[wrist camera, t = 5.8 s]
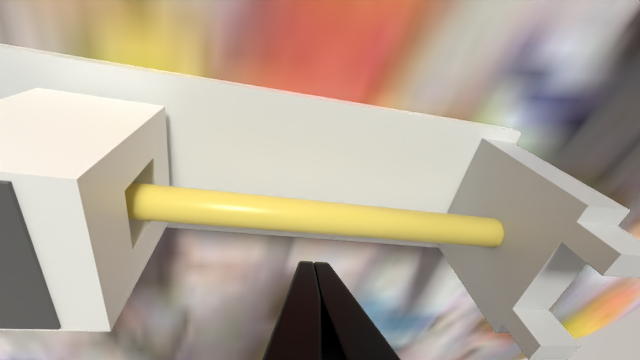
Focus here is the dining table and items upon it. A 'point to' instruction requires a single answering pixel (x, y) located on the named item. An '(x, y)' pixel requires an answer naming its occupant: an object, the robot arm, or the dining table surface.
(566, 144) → the dining table surface
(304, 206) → the cord rig
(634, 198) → the dining table surface
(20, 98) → the marker sleeve
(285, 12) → the dining table surface
